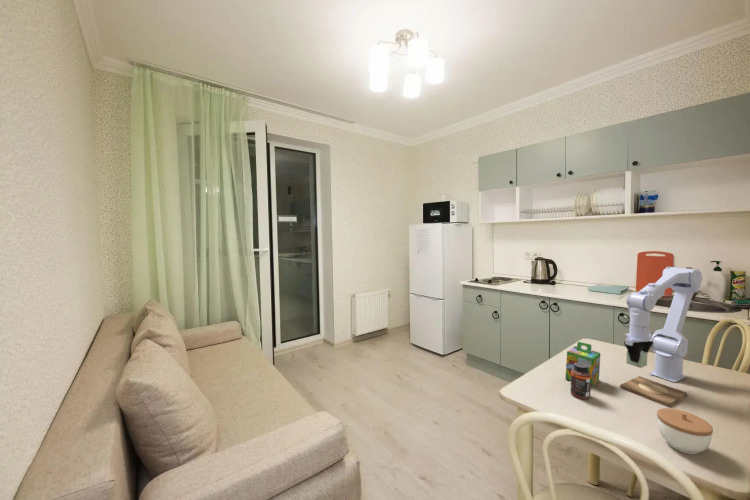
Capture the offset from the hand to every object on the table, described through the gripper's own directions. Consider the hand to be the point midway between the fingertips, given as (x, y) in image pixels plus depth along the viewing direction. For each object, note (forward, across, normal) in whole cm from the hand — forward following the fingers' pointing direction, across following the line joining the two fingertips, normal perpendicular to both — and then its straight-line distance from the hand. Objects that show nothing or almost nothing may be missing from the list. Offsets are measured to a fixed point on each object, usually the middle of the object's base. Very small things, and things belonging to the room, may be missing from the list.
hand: (637, 360), depth 116 cm
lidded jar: (+10, +28, +23) cm, 38 cm away
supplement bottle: (+10, +27, -5) cm, 29 cm away
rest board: (+9, +2, +6) cm, 11 cm away
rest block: (+2, 0, 0) cm, 2 cm away
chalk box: (+10, +15, -11) cm, 21 cm away
